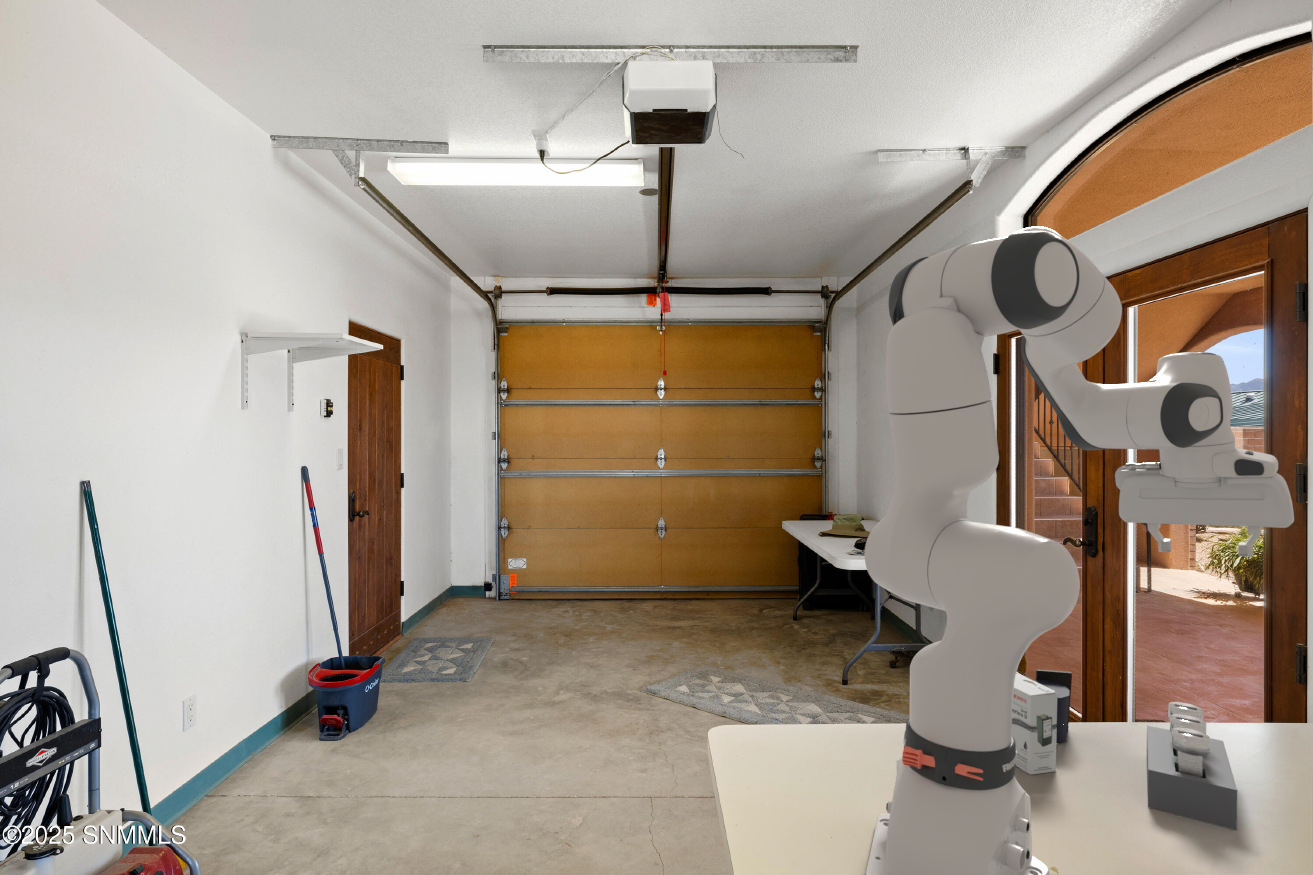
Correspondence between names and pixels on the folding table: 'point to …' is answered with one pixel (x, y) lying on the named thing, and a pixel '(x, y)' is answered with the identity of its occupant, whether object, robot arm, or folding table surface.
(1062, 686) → the speaker
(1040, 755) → the ink box
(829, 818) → the folding table surface
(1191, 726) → the middle knob
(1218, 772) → the control panel
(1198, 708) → the far knob
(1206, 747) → the near knob
